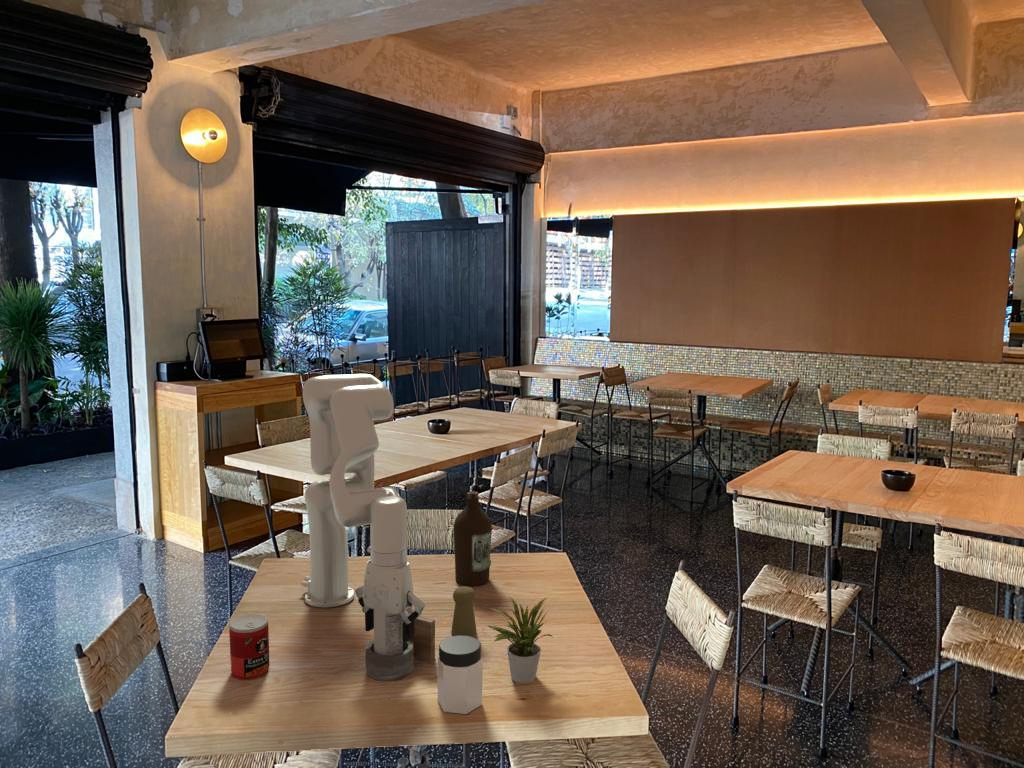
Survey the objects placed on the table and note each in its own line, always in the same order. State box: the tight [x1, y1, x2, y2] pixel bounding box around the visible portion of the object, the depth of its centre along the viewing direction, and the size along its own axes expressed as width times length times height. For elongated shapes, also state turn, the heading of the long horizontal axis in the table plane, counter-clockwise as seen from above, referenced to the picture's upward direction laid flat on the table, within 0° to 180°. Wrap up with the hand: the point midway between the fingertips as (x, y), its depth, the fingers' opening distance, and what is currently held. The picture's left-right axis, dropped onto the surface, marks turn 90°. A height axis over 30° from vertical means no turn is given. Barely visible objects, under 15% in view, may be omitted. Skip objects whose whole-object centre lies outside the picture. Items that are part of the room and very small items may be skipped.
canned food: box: [228, 613, 270, 681], centre depth 157 cm, size 8×8×11 cm
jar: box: [437, 635, 484, 715], centre depth 145 cm, size 9×8×12 cm
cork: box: [450, 585, 477, 638], centre depth 175 cm, size 6×6×11 cm
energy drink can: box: [373, 608, 403, 655], centre depth 158 cm, size 6×6×15 cm
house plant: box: [487, 596, 554, 685], centre depth 156 cm, size 14×14×16 cm
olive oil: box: [452, 490, 493, 587], centre depth 207 cm, size 11×11×25 cm
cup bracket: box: [364, 612, 436, 682], centre depth 160 cm, size 13×12×9 cm
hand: (389, 633), depth 158 cm, fingers open, 9 cm apart
